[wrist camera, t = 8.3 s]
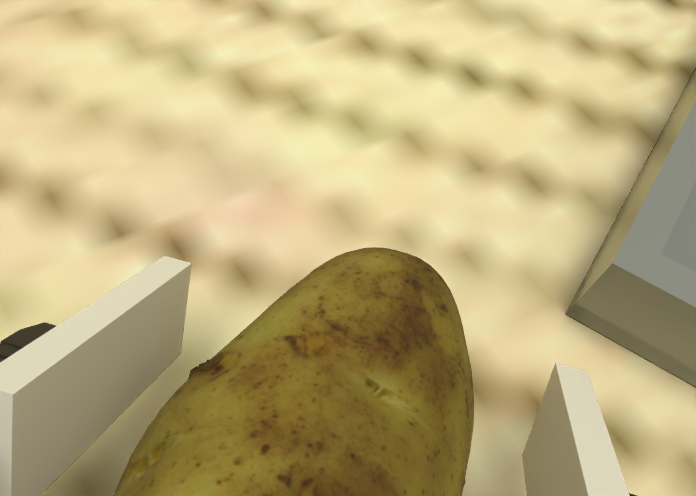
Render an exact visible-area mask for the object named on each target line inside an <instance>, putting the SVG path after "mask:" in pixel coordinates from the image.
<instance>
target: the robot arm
mask: <svg viewBox="0 0 696 496" xmlns="http://www.w3.org/2000/svg"><path fill="white" fill-rule="evenodd" d="M191 264H192V263H189V262H185V261H181V260H178V259H174V258H170V257H167V256H164V257H162V258H161V259H159V260H158V261H156V262H155V263H153V264H152V265H150V266H148V267H147V268H145V269H144V270H142V271H141V272H139V273H138V274H136V275H135V276H133V277H131V278H130V279H128V280H127V281H125V282H124V283H122V284H121V285H119V286H118V287H116V288H115V289H113V290H111V291H110V292H108V293H107V294H105V295H104V296H102V297H101V298H99V299H98V300H96V301H94V302H93V303H91V304H90V305H88V306H87V307H85V308H84V309H82V310H81V311H79V312H77V313H76V314H74V315H73V316H71V317H70V318H68V319H67V320H65V321H64V322H62V323H60V324H59V325H57V326H55V325H52V324H48V323H45V322H44V323H41V324H38V325H34V326H31V327H28V328H24V329H21V330H19V331H17V332H15V333H14V334H12V335H10V336H9V337H7V338H5V339H4V340H2V341H1V343H0V496H41V495H42V494H43V493H44V492H45V491H46V489H47V488H48V487H49V486H50V485H51V484H52V483H53V482H54V481H55V480H56V479H57V478H58V477H59V476H60V475H61V474H62V473H63V472H64V471H65V470H66V469H67V468H68V467H69V466H70V465H71V464H72V463H73V462H74V461H75V460H76V459H77V458H78V457H79V456H80V455H81V454H82V453H83V452H84V451H85V450H86V449H87V448H88V447H89V446H90V445H91V444H92V443H93V442H94V441H95V440H96V439H97V438H98V437H99V436H100V435H101V434H102V433H103V432H104V431H105V430H106V429H107V428H108V427H109V426H110V425H111V424H112V423H113V422H114V421H115V420H116V419H117V418H118V417H119V416H120V415H121V414H122V413H123V412H124V411H125V410H126V409H127V408H128V407H129V406H130V405H131V404H132V403H133V402H134V401H135V400H136V399H137V398H138V397H139V395H140V394H141V393H142V392H143V391H144V390H145V389H146V388H147V387H148V386H149V385H150V384H151V383H152V382H153V381H154V380H155V379H156V378H157V377H158V376H159V375H160V374H161V373H162V372H163V371H164V370H165V369H166V368H167V367H168V366H169V365H170V364H171V363H172V362H173V361H174V360H175V359H176V358H177V357H178V356H179V355H180V354H181V346H182V338H183V330H184V321H185V313H186V305H187V297H188V289H189V281H190V273H191ZM522 455H523V464H524V473H525V482H526V492H527V496H636V495H633V494H630V493H629V492H628V490H627V487H626V484H625V481H624V478H623V475H622V472H621V469H620V466H619V463H618V460H617V457H616V454H615V451H614V448H613V445H612V443H611V440H610V437H609V434H608V431H607V428H606V425H605V422H604V419H603V416H602V413H601V410H600V407H599V404H598V401H597V398H596V396H595V393H594V390H593V387H592V384H591V381H590V378H589V375H588V372H587V371H584V370H580V369H576V368H573V367H569V366H565V365H562V364H558V363H555V366H554V369H553V371H552V374H551V377H550V380H549V382H548V385H547V388H546V391H545V393H544V396H543V399H542V402H541V405H540V407H539V410H538V413H537V416H536V418H535V421H534V424H533V427H532V429H531V432H530V435H529V438H528V441H527V443H526V446H525V449H524V452H523V454H522Z"/></svg>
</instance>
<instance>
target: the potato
mask: <svg viewBox="0 0 696 496" xmlns="http://www.w3.org/2000/svg"><path fill="white" fill-rule="evenodd" d="M473 419H474V396H473V383H472V372H471V365H470V361H469V356H468V351H467V346H466V341H465V336H464V331H463V326H462V322H461V318H460V315H459V311H458V308H457V305H456V303H455V300H454V298H453V296H452V293H451V291H450V289H449V287H448V286H447V284H446V283H445V281H444V280H443V278H442V277H441V276H440V275H439V274H438V273H437V271H436V270H435V269H434V268H432V267H431V266H430V265H429V264H427V263H426V262H424V261H423V260H421V259H420V258H418V257H415V256H412V255H410V254H407V253H403V252H400V251H396V250H392V249H387V248H363V249H359V250H354V251H350V252H347V253H344V254H341V255H339V256H336V257H335V258H333V259H331V260H329V261H327V262H326V263H324V264H322V265H321V266H319V267H318V268H316V269H314V270H313V271H312V272H311V273H310V274H309V275H308V276H306V277H305V278H304V279H302V280H301V281H300V282H298V283H297V284H296V285H294V286H293V287H292V288H291V289H289V290H288V291H287V292H286V293H285V294H283V295H282V296H281V297H280V298H279V299H278V300H276V301H275V302H274V303H273V304H272V305H271V306H270V307H268V308H267V309H266V310H265V311H264V312H263V313H262V314H261V315H260V316H259V317H258V318H257V319H256V320H255V321H253V322H252V323H251V324H250V325H249V326H248V327H247V328H245V329H244V330H243V331H242V332H241V333H240V334H239V335H238V336H236V337H235V338H234V339H233V340H232V341H231V342H230V343H229V344H228V345H227V346H225V347H224V348H223V349H222V350H221V351H220V352H218V353H217V354H216V355H215V356H214V357H213V358H212V359H210V360H207V362H205V363H202V364H199V367H195V368H193V369H192V370H191V371H190V374H189V378H188V380H187V381H186V382H185V383H184V384H183V385H182V386H181V387H180V388H179V389H178V390H177V391H176V392H175V393H174V395H173V396H172V397H171V398H170V399H169V400H168V402H167V403H166V404H165V405H164V406H163V407H162V409H161V410H160V411H159V413H158V414H157V416H156V417H155V419H154V420H153V422H152V423H151V424H150V426H149V427H148V429H147V430H146V432H145V434H144V435H143V437H142V439H141V440H140V442H139V444H138V445H137V447H136V449H135V450H134V452H133V454H132V455H131V457H130V460H129V462H128V464H127V466H126V468H125V471H124V473H123V475H122V477H121V479H120V482H119V484H118V487H117V489H116V491H115V494H114V496H462V491H463V486H464V484H465V474H466V468H467V463H468V458H469V453H470V446H471V439H472V431H473Z"/></svg>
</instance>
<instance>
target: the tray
mask: <svg viewBox="0 0 696 496" xmlns="http://www.w3.org/2000/svg"><path fill="white" fill-rule="evenodd" d="M566 315H568V316H570V317H572V318H574V319H575V320H577V321H579V322H581V323H582V324H584V325H586V326H588V327H590V328H591V329H593V330H595V331H597V332H598V333H600V334H602V335H604V336H606V337H607V338H609V339H611V340H613V341H615V342H616V343H618V344H620V345H622V346H623V347H625V348H627V349H629V350H631V351H632V352H634V353H636V354H638V355H639V356H641V357H643V358H645V359H647V360H648V361H650V362H652V363H654V364H655V365H657V366H659V367H661V368H663V369H664V370H666V371H668V372H670V373H672V374H673V375H675V376H677V377H679V378H680V379H682V380H684V381H686V382H688V383H689V384H691V385H693V386H695V387H696V69H695V70H694V72H693V74H692V76H691V78H690V80H689V82H688V84H687V86H686V87H685V89H684V91H683V93H682V95H681V97H680V99H679V101H678V103H677V104H676V106H675V108H674V110H673V112H672V114H671V116H670V118H669V120H668V122H667V123H666V125H665V127H664V129H663V131H662V133H661V135H660V137H659V139H658V140H657V142H656V144H655V146H654V148H653V150H652V152H651V154H650V156H649V157H648V159H647V161H646V163H645V165H644V167H643V169H642V171H641V173H640V174H639V176H638V178H637V180H636V182H635V184H634V186H633V188H632V190H631V192H630V193H629V195H628V197H627V199H626V201H625V203H624V205H623V207H622V209H621V210H620V212H619V214H618V216H617V218H616V220H615V222H614V224H613V226H612V227H611V229H610V231H609V233H608V235H607V237H606V239H605V241H604V243H603V244H602V246H601V248H600V250H599V252H598V254H597V256H596V258H595V260H594V261H593V263H592V265H591V267H590V269H589V271H588V273H587V275H586V277H585V279H584V280H583V282H582V284H581V286H580V288H579V290H578V292H577V294H576V296H575V297H574V299H573V301H572V303H571V305H570V307H569V309H568V311H567V313H566Z"/></svg>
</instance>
